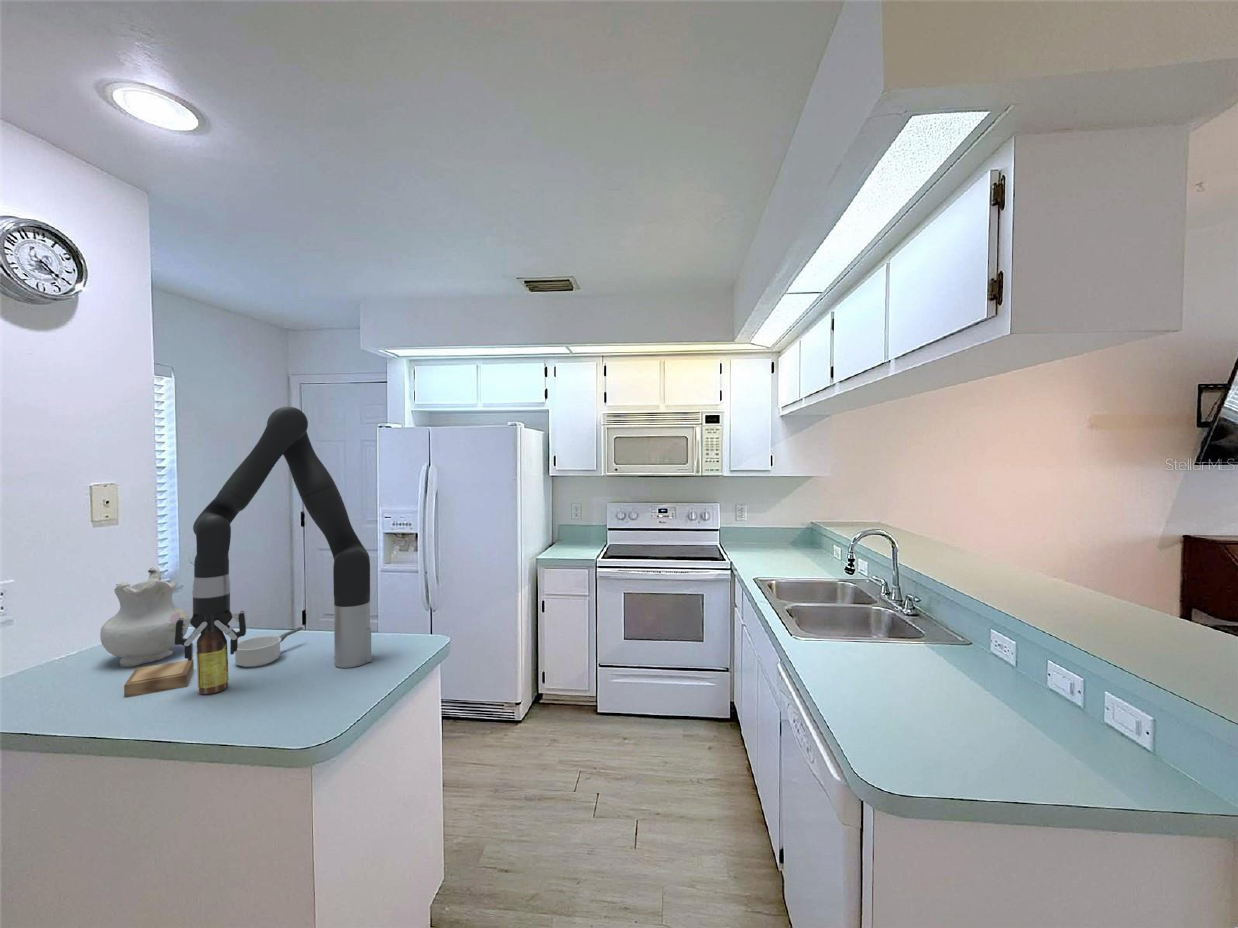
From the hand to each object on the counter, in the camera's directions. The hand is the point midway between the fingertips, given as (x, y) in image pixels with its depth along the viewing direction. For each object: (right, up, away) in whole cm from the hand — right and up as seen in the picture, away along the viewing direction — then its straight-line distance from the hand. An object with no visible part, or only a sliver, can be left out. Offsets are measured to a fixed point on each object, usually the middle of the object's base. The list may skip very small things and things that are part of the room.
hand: (211, 656), depth 136 cm
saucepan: (+1, -8, +23) cm, 24 cm away
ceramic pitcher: (-35, -8, +22) cm, 42 cm away
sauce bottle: (0, -9, 0) cm, 9 cm away
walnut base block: (-16, -8, +4) cm, 19 cm away
